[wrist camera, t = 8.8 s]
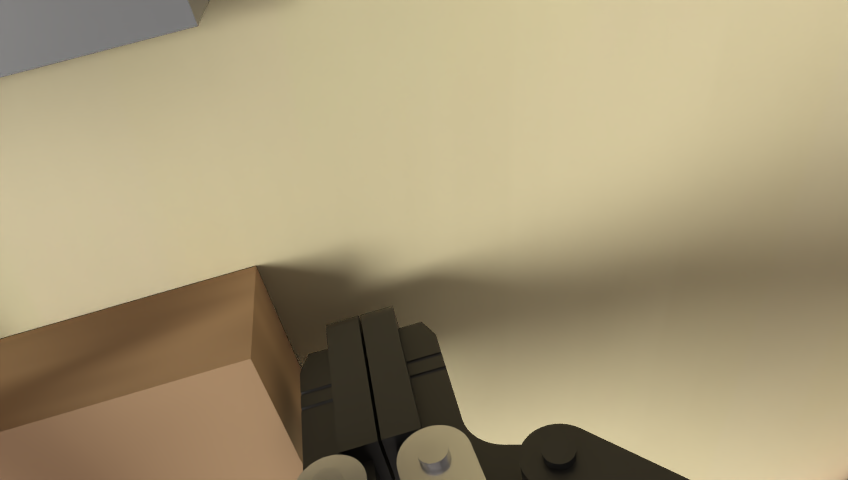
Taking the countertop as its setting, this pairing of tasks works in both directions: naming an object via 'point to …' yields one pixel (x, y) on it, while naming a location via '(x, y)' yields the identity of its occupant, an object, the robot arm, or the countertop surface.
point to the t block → (156, 390)
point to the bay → (84, 27)
